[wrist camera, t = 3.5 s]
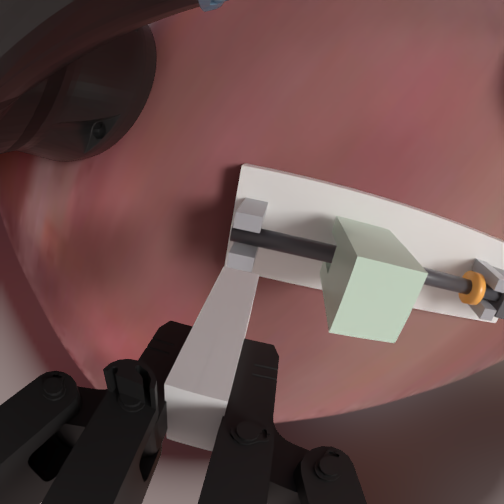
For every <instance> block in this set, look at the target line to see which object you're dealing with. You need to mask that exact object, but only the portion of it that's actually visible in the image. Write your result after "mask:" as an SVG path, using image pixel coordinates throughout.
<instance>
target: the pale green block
mask: <svg viewBox="0 0 504 504" xmlns="http://www.w3.org/2000/svg"><path fill="white" fill-rule="evenodd" d="M332 234H333V236H334V239H335V241H336V244H337V247H336V250H335V253H334V256H333V259H332V263H328V262H323V264H322V267H321V270H320V279H321V284H322V290H323V297H324V303H325V309H326V316H327V322H328V329H329V333H335V334H340V335H346V336H352V337H358V338H364V339H371V340H377V341H384V342H391V343H395V342H396V340H397V338H398V336H399V334H400V332H401V330H402V328H403V326H404V325H405V323H406V321H407V319H408V317H409V315H410V313H411V310H412V308H413V306H414V304H415V302H416V300H417V298H418V296H419V293H420V291H421V289H422V287H423V284H424V282H425V280H426V277H427V275H428V273H427V272H426V270H425V269H424V268H423V267H422V266H421V264H420V263H419V262H418V261H417V260H416V259H415V258H414V256H413V255H412V254H411V253H410V252H409V251H408V250H407V249H406V247H405V246H404V245H403V244H402V243H401V242H400V241H399V240H398V239H397V238H396V237H395V235H394V234H393V233H392V232H391V231H390V230H389V229H385V228H382V227H378V226H374V225H371V224H367V223H363V222H359V221H355V220H352V219H348V218H344V217H340V216H336V219H335V223H334V226H333V230H332Z"/></svg>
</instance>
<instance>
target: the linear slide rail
mask: <svg viewBox="0 0 504 504" xmlns="http://www.w3.org/2000/svg"><path fill="white" fill-rule="evenodd" d="M336 216H340V217H344V218H348V219H352V220H355V221H359V222H363V223H367V224H371V225H374V226H378V227H382V228H385V229H389V230H390V231H391V232H392V233H393V234H394V235H395V237H396V238H397V239H398V240H399V241H400V242H401V243H402V244H403V245H404V246H405V247H406V249H407V250H408V251H409V252H410V253H411V254H412V255H413V256H414V258H415V259H416V260H417V261H418V262H419V263H420V264H421V266H422V267H423V268H424V269H425V270H426V272H427V273H428V275H427V277H426V280H425V282H424V284H423V287H422V289H421V291H420V293H419V296H418V298H417V300H416V302H415V304H414V306H413V308H414V309H420V310H425V311H430V312H436V313H441V314H446V315H452V316H457V317H463V318H469V319H474V320H480V321H486V322H492V323H496V322H497V320H498V318H501V319H504V240H501V239H499V238H497V237H494V236H492V235H489V234H487V233H484V232H482V231H479V230H477V229H474V228H472V227H469V226H467V225H464V224H462V223H459V222H456V221H453V220H451V219H448V218H445V217H442V216H440V215H437V214H434V213H431V212H428V211H425V210H422V209H419V208H416V207H413V206H410V205H407V204H404V203H401V202H398V201H395V200H391V199H388V198H385V197H381V196H378V195H375V194H371V193H368V192H364V191H361V190H357V189H354V188H350V187H346V186H342V185H339V184H335V183H331V182H327V181H323V180H319V179H315V178H311V177H307V176H302V175H298V174H294V173H289V172H285V171H280V170H276V169H271V168H266V167H261V166H256V165H251V164H246V163H245V164H243V165H242V167H241V172H240V178H239V183H238V189H237V194H236V200H235V206H234V212H233V217H232V223H231V229H230V235H229V241H228V247H227V253H226V259H225V265H224V267H229V268H233V269H237V270H242V271H246V272H250V273H255V274H259V276H261V277H265V278H270V279H274V280H279V281H283V282H288V283H292V284H297V285H302V286H306V287H311V288H315V289H320V290H322V284H321V279H320V270H321V267H322V264H323V262H328V263H332V259H333V256H334V253H335V250H336V247H337V244H336V241H335V239H334V236H333V234H332V230H333V226H334V223H335V219H336Z"/></svg>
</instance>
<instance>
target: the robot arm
mask: <svg viewBox="0 0 504 504" xmlns="http://www.w3.org/2000/svg"><path fill="white" fill-rule="evenodd" d="M225 1H227V0H0V154H1V153H5V152H10V151H20V152H24V153H28V154H32V155H36V156H40V157H43V158H47V159H51V160H55V161H74V160H79V159H84V158H88V157H92V156H95V155H98V154H100V153H102V152H104V151H105V150H107V149H109V148H110V147H111V146H113V145H114V144H115V143H117V142H118V141H119V140H120V139H121V138H122V137H123V136H124V135H125V134H126V133H127V132H128V130H129V129H130V128H131V127H132V125H133V124H134V123H135V121H136V120H137V118H138V116H139V115H140V113H141V111H142V110H143V108H144V106H145V103H146V101H147V99H148V97H149V94H150V91H151V88H152V85H153V81H154V76H155V70H156V46H155V41H154V37H153V34H152V32H151V30H150V28H149V26H148V24H150V23H153V22H155V21H158V20H160V19H163V18H166V17H169V16H171V15H174V14H177V13H180V12H183V11H186V10H190V9H193V8H196V7H200V8H201V9H202V10H203V11H205V12H206V11H210V10H214V9H217V8H219V7H220V6H222V4H223V3H224V2H225ZM258 279H259V274H255V273H250V272H246V271H242V270H237V269H233V268H229V267H223V268H222V270H221V272H220V274H219V276H218V278H217V280H216V282H215V284H214V286H213V288H212V290H211V292H210V294H209V296H208V298H207V300H206V302H205V304H204V305H203V307H202V309H201V311H200V313H199V315H198V317H197V319H196V321H195V323H194V325H193V327H192V326H188V325H185V324H181V323H177V322H174V321H169V322H168V323H166V324H164V325H163V326H161V327H160V328H159V329H158V330H157V332H156V333H155V335H154V337H153V339H152V340H151V341H150V343H149V344H148V347H147V348H146V349H145V351H144V352H143V354H142V355H141V357H140V358H139V360H138V361H137V360H132V359H123V360H117V361H115V362H112V363H110V364H109V365H108V366H107V367H105V368H104V369H103V371H104V375H105V380H106V384H107V388H108V389H106V390H98V389H90V388H83V387H78V386H77V385H76V382H75V381H74V380H73V378H72V377H71V376H69V375H68V374H66V373H64V372H59V371H52V372H46V373H44V374H42V375H40V376H39V377H38V378H36V379H35V380H34V381H32V382H31V383H29V384H28V385H27V386H25V387H24V388H23V389H22V390H20V391H19V392H17V393H16V394H15V395H14V396H12V397H11V398H10V399H8V400H7V401H6V402H4V403H3V404H2V405H0V504H40V503H41V502H42V503H41V504H142V502H143V499H144V496H145V494H146V491H147V489H148V486H149V484H150V481H151V478H152V476H153V473H154V471H155V468H156V466H157V463H158V461H159V458H160V456H161V451H162V441H163V439H164V436H165V434H166V433H167V438H168V439H171V440H174V441H177V442H180V443H184V444H187V445H191V446H195V447H198V448H202V449H205V450H209V451H212V455H211V458H210V462H209V466H208V469H207V473H206V476H205V480H204V483H203V487H202V491H201V495H200V498H199V501H198V504H367V503H366V500H365V497H364V494H363V491H362V488H361V485H360V482H359V480H358V477H357V474H356V471H355V468H354V465H353V463H352V461H351V460H350V458H349V457H348V456H347V455H346V454H345V453H344V452H342V451H341V450H339V449H336V448H333V447H325V446H321V447H318V448H314V449H312V450H311V451H309V450H306V449H304V448H302V447H299V446H297V445H294V444H292V443H290V442H288V441H287V440H285V439H284V438H283V437H282V436H281V435H279V433H278V432H277V430H276V428H275V426H274V423H273V413H274V403H275V393H276V383H277V381H276V380H277V373H278V371H277V370H278V362H279V356H278V353H277V351H276V349H275V347H274V345H271V344H266V343H262V342H257V341H252V340H248V339H245V336H246V331H247V327H248V323H249V319H250V314H251V310H252V305H253V301H254V297H255V292H256V288H257V283H258Z"/></svg>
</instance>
